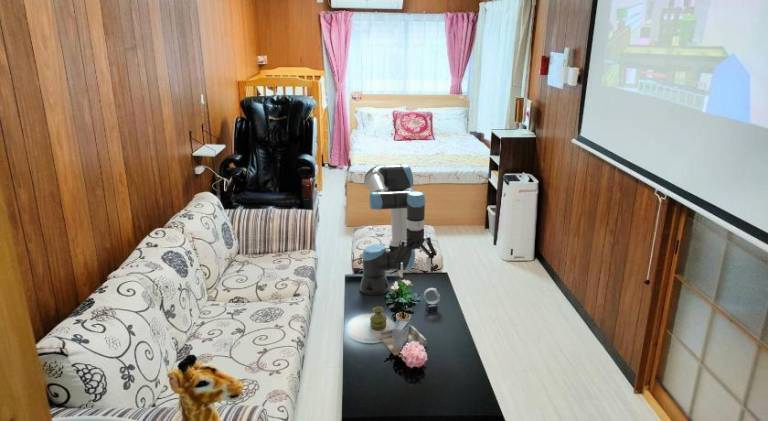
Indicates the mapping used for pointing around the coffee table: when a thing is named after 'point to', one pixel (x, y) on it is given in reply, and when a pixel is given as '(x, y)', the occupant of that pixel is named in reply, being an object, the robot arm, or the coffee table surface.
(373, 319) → the gold round knobbed cylinder
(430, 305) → the watch
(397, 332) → the medicine box
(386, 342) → the corner arena
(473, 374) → the coffee table surface
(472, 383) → the coffee table surface
